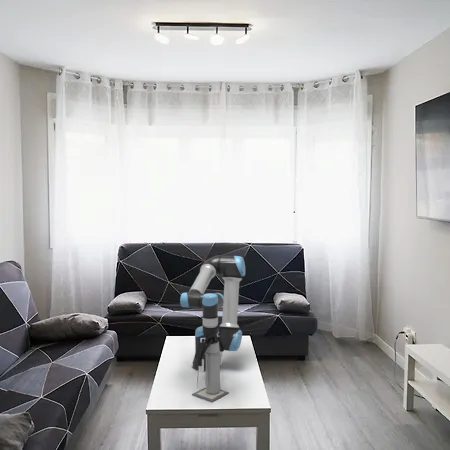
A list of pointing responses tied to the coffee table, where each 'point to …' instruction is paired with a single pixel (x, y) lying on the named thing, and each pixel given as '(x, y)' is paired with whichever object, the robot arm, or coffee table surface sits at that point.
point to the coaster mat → (209, 395)
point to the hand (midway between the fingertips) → (210, 368)
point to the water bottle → (212, 369)
